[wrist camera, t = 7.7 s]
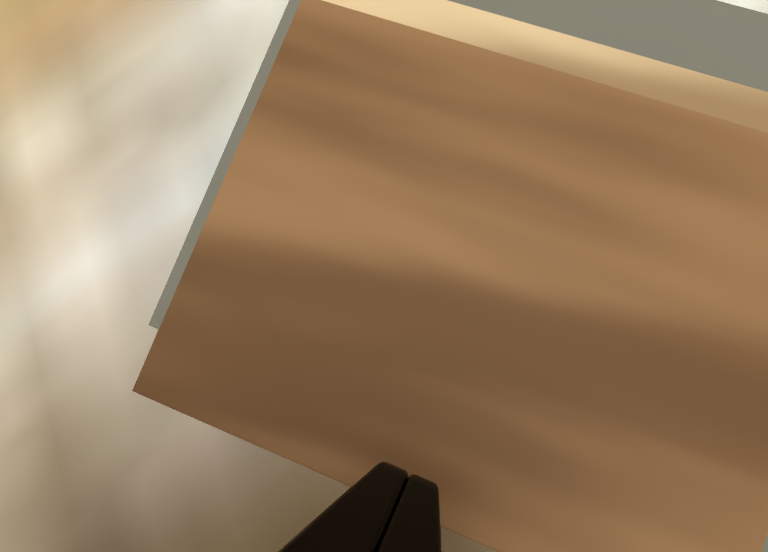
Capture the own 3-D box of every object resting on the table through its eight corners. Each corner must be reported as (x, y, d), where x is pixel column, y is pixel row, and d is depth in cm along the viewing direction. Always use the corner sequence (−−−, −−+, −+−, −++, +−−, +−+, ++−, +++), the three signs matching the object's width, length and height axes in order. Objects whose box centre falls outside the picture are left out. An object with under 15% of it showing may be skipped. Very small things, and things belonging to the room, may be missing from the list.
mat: (764, 578, 15) (774, 584, 15) (157, 326, 18) (148, 325, 17) (922, 68, 16) (936, 58, 16) (337, -89, 19) (333, -102, 19)
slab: (730, 652, 11) (893, 128, 12) (132, 390, 13) (316, -37, 15) (669, 591, 15) (802, 184, 16) (200, 390, 17) (346, 43, 18)
